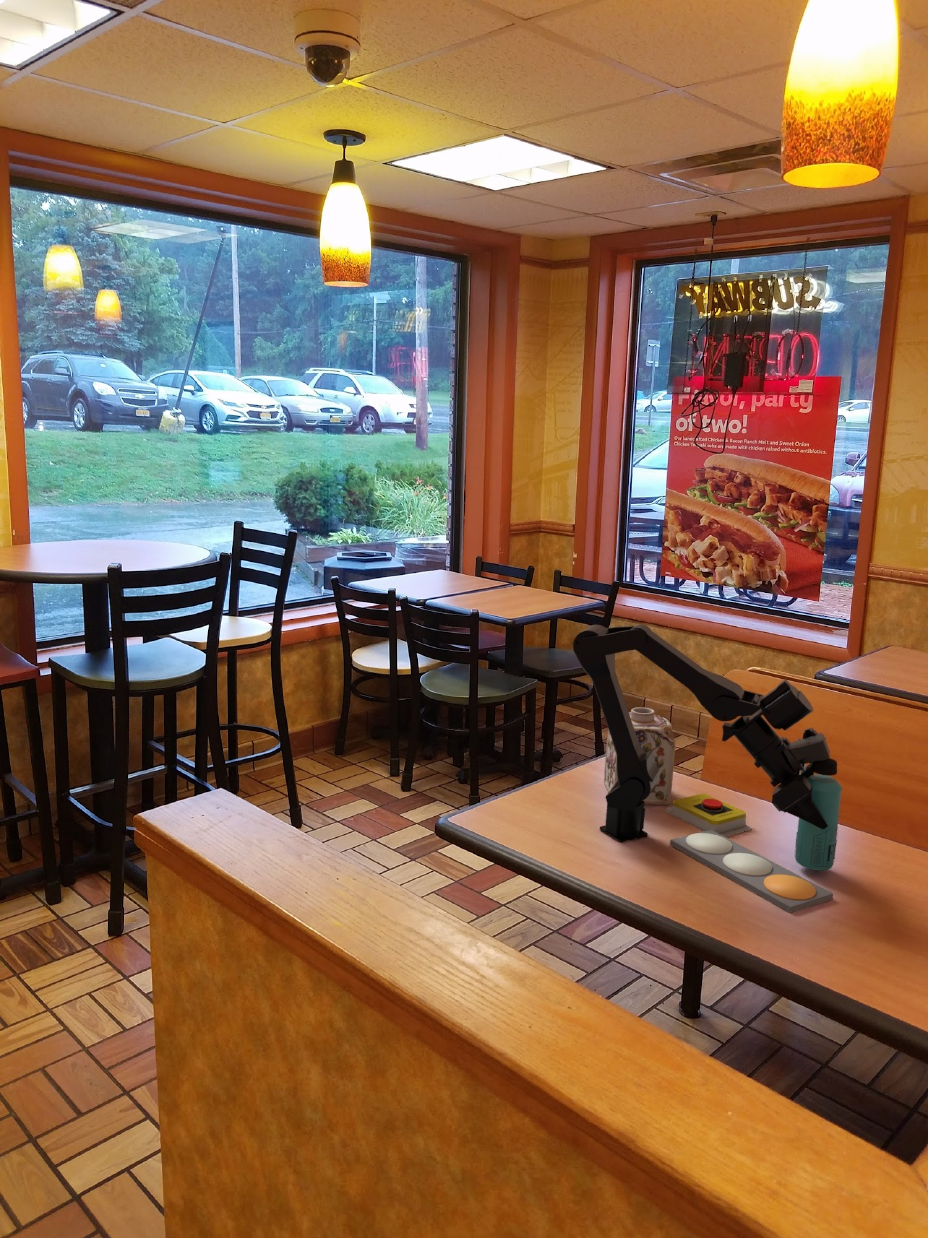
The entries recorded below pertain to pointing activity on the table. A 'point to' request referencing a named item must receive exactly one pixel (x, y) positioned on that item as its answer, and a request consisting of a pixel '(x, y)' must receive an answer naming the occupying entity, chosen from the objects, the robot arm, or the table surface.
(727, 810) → the emergency button
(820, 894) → the panel
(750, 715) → the robot arm
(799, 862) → the beverage bottle
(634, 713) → the decorative jar
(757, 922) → the table surface
